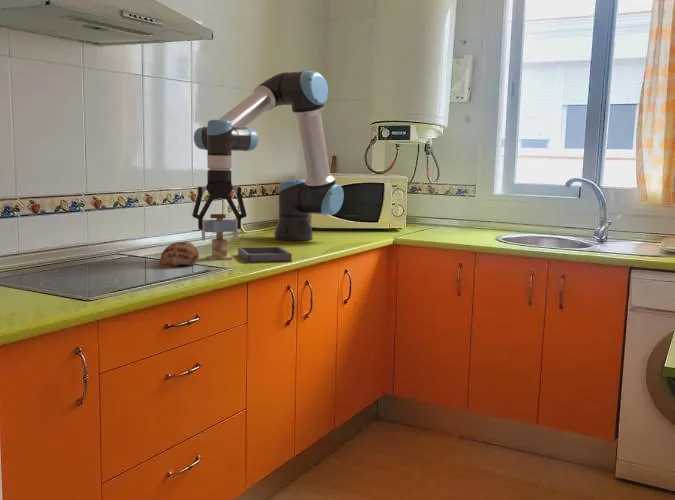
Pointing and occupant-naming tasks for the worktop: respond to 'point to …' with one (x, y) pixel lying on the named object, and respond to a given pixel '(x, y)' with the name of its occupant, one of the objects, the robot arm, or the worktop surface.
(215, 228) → the ring
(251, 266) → the worktop surface
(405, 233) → the worktop surface
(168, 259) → the seashell
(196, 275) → the worktop surface
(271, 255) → the tray
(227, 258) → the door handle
